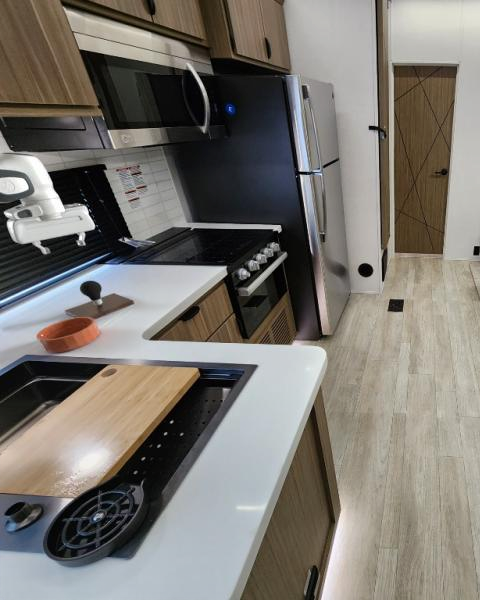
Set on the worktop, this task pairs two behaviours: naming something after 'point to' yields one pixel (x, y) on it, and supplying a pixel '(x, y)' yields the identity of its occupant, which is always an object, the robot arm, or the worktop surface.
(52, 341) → the bowl
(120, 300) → the board
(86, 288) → the black bulb silver base
